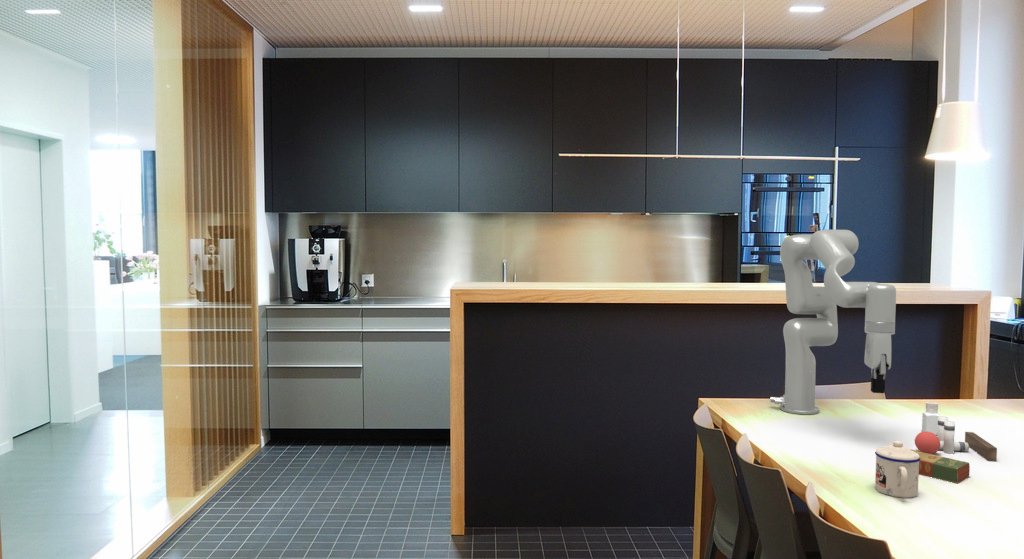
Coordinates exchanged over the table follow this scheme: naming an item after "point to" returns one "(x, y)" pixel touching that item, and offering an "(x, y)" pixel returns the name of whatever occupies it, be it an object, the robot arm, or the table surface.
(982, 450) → the rail
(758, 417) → the table surface
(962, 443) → the pin front
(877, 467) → the teacup with lid
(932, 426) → the salt shaker
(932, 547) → the table surface
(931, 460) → the carton
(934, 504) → the table surface
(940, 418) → the pin rear left
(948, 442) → the pin rear right
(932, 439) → the ball
